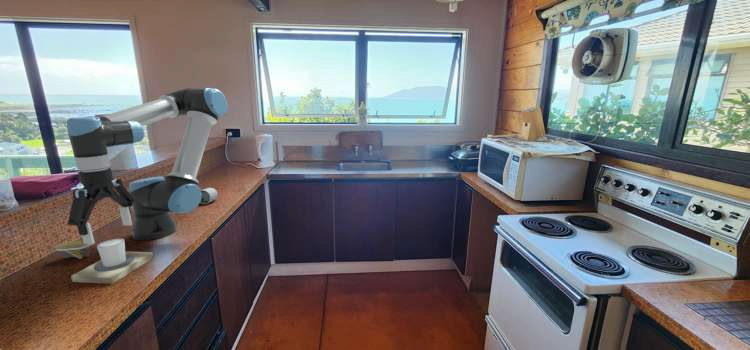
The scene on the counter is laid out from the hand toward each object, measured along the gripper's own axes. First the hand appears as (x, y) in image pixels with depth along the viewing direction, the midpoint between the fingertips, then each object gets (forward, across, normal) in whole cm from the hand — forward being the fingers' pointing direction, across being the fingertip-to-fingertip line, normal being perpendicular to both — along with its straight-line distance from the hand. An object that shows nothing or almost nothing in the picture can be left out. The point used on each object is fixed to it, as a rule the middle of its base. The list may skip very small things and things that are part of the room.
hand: (109, 233), depth 99 cm
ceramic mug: (+14, -67, -12) cm, 70 cm away
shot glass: (+10, +1, 0) cm, 10 cm away
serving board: (+12, +1, 0) cm, 12 cm away
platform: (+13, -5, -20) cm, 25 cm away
